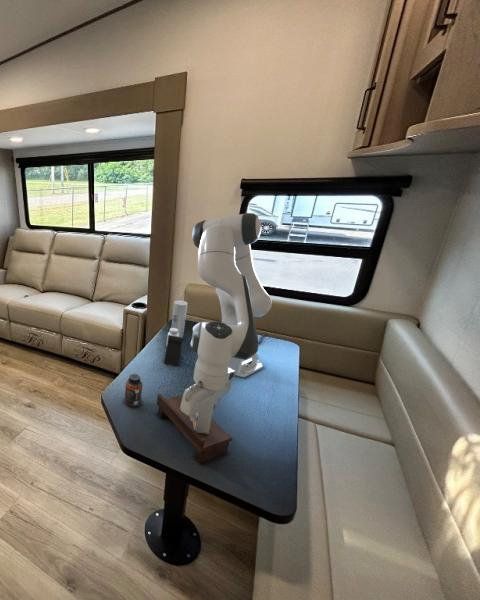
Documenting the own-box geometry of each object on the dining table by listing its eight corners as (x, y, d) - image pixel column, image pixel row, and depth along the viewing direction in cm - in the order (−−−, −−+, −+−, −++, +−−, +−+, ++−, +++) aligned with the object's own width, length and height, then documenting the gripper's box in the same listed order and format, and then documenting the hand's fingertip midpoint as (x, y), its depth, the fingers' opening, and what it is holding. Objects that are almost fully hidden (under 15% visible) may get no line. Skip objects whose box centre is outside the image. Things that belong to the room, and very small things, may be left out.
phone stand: (177, 366, 141) (181, 342, 136) (164, 363, 143) (166, 339, 138) (180, 356, 148) (183, 333, 144) (167, 353, 151) (170, 331, 146)
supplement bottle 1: (140, 408, 115) (142, 382, 111) (124, 406, 116) (125, 380, 112) (140, 398, 121) (143, 373, 116) (125, 395, 122) (126, 371, 118)
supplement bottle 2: (179, 349, 154) (181, 331, 151) (168, 350, 154) (171, 332, 150) (174, 343, 159) (177, 326, 156) (164, 344, 159) (166, 327, 155)
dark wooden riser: (183, 406, 116) (186, 386, 113) (229, 452, 97) (234, 429, 94) (155, 415, 112) (157, 394, 109) (197, 464, 93) (202, 441, 90)
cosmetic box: (191, 418, 102) (196, 388, 98) (205, 420, 101) (211, 389, 97) (194, 432, 96) (199, 401, 92) (208, 434, 96) (215, 402, 91)
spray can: (168, 335, 168) (172, 300, 161) (180, 334, 168) (185, 300, 161) (172, 340, 162) (176, 305, 155) (184, 340, 162) (189, 305, 155)
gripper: (197, 395, 84) (190, 435, 89) (239, 370, 95) (231, 406, 100) (177, 383, 89) (172, 422, 94) (220, 360, 100) (213, 396, 105)
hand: (203, 414), depth 97 cm, fingers open, 8 cm apart
